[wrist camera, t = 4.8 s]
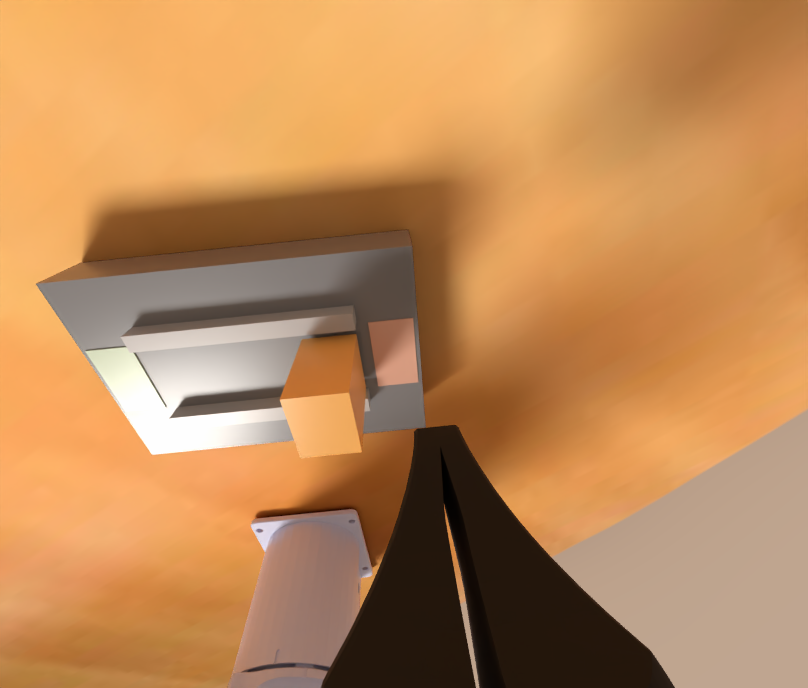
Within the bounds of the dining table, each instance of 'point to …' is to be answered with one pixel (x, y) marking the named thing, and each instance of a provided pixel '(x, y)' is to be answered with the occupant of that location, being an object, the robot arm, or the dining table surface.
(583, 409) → the dining table surface
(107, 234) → the dining table surface
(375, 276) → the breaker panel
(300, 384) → the handle
